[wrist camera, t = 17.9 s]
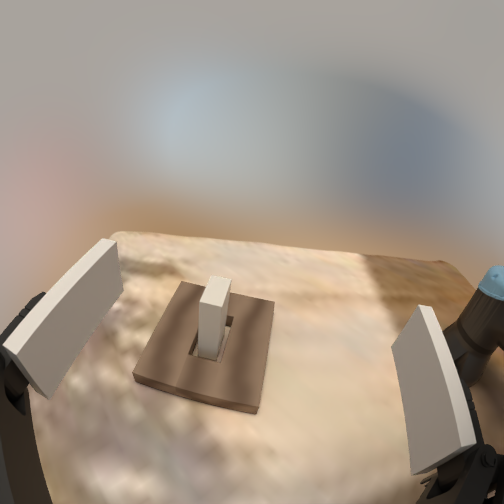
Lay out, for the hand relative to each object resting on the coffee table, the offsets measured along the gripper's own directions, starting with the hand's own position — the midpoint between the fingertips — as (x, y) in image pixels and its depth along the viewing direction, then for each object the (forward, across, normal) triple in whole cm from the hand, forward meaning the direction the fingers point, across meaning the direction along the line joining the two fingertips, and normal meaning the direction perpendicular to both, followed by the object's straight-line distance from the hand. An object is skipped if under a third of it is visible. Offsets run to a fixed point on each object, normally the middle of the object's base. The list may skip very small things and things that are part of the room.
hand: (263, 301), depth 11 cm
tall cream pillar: (+20, -6, -30) cm, 36 cm away
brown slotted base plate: (+20, -6, -30) cm, 37 cm away
